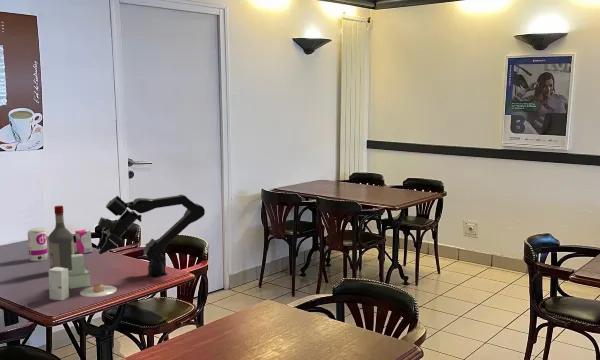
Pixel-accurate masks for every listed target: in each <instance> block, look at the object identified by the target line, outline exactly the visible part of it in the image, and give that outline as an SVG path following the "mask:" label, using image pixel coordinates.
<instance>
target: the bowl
mask: <svg viewBox="0 0 600 360" xmlns="http://www.w3.org/2000/svg"><path fill="white" fill-rule="evenodd" d="M103 286H104V283H102V282H101V283H95V284H92V287H93V292H95V293H98V292H103V291H104V287H103Z"/></svg>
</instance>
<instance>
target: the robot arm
mask: <svg viewBox="0 0 600 360" xmlns="http://www.w3.org/2000/svg"><path fill="white" fill-rule="evenodd" d="M179 205H181V206H183V207H184V208H185V209H186V210H185V212H184V214H183V215H182V217H181V218H180V219H179V220H178V221H176V222H175V223H174V225H172V226H171V227H170V228H169V229H168V230H167V231H165V233H163V235H161V236H160V237H159V238H157V239H154V238H151V239H150V240H149V241H148V243H146V244H144V245H145V246H144V248H143V254H144V255H145V257H146V258H147V259H149V260H150V261H148V266H147V269H148V273H147V276H149V277H150V276H151V277H152V278H159V277H163V276H167V275H168V272H166V257H165V256H164V255H163V253H164V251H165V249H166V247H167V246H168V245H169V244H170V243H171V242H172V241H173V240H174V239H176V237H177V236H178V235H180V234H181V233H182V232H183V231H184V230H185V229H186V228H187V227H188V226H189V225H191V224H193V223H195V222H197V221H198V220H200V219H201V218H203V217H204V216H205V214H206V212H205V211H206V210H205V208H204V206H202V205H200V204H199V203H195V202H193V201H192V200H191V199H189V198H188V197H187V195H184V194H177V195H173V196H165V197H158V198H148V197H147V198H145V197H138V198H135V199H133V201H129V202H125V201H124V200H123V199H122V198H121V197H120V196H118V195H116V196H115V197H113V198H112V199H111V200H108V202H107V204H106V206H105V208H106V209H107V210H108V211H109V212H110V213H112V214H113V215H115V216H116V217H118V216H120V217H119V218H118V219H117V218H116V219H114V221H113V220H111V219H110V218H104V217H102V216H101V217H100V218H99V220H98V227H101V228H102V229H101V235H102V236H101V237H100V240H99V241H98V243H97V245H96V246H95V247H96V248H95V249H96V250H99V251H98V253H99V255H103V254H104V253H107V252H109V251H111V250H113V249H116V248H118V247H121V245H122V244H123V239H122V236H123V235H124V234H125V233H126V232H129V229H130V227H131V226H132V225H133V224H134V223H135V222H136V221H138V222H140V223H142V215H141V214H144V213H147V212H150V211H153V210H155V209H157V208H166V207H174V206H179ZM130 210H131V211H130ZM137 213H138V214H137Z"/></svg>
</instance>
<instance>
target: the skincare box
mask: <svg viewBox="0 0 600 360" xmlns="http://www.w3.org/2000/svg"><path fill="white" fill-rule="evenodd" d="M69 289H70V288H69V284H68V268H62V267H54V268H52V269H51V268H50V269H48V290H49V291H48V292H49V299H50V300H56V301H63V300H66V299H67V298H70V291H69Z"/></svg>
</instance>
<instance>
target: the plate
mask: <svg viewBox="0 0 600 360" xmlns="http://www.w3.org/2000/svg"><path fill="white" fill-rule="evenodd" d="M103 287H104V291H103V292H98V293H95V292H93V286H89V287H87V288H86V287H85V288H84V289H82V290H81V291H79V294H80V296H83V297H88V298H95V297H96V298H98V297H104V296H108V295H111V294H114V293H115V292H116V291H117V290H118V289H117V287H116V286H114V285H103Z"/></svg>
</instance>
